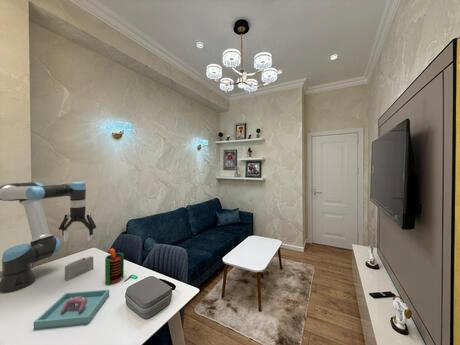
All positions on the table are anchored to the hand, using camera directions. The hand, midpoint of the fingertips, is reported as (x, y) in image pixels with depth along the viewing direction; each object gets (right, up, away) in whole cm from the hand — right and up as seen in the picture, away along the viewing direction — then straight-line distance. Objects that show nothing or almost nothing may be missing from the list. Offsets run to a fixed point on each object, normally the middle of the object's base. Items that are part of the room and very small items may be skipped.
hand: (77, 240), depth 118 cm
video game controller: (+18, -27, -24) cm, 40 cm away
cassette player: (-7, -27, +10) cm, 29 cm away
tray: (+17, -27, -23) cm, 40 cm away
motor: (+21, -27, +3) cm, 34 cm away
